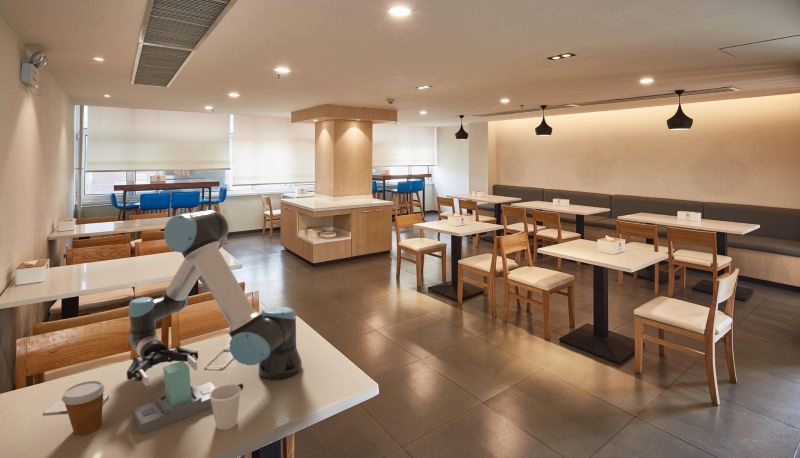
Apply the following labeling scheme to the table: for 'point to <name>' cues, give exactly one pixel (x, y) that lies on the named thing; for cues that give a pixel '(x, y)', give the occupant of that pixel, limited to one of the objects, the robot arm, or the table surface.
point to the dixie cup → (225, 405)
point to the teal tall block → (177, 383)
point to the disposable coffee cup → (84, 406)
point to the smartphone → (64, 406)
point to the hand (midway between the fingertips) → (172, 373)
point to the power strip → (172, 409)
